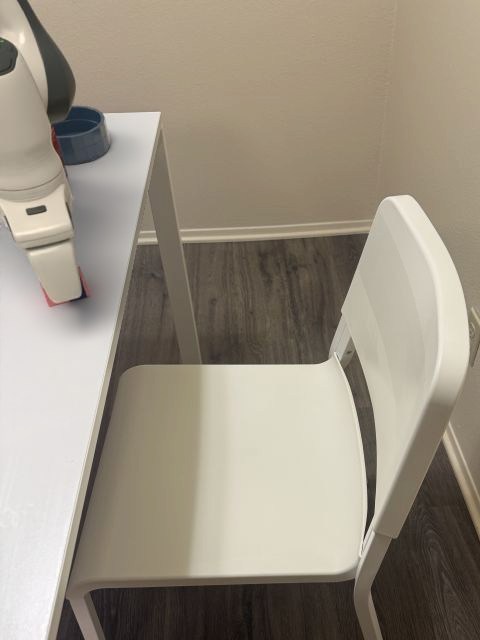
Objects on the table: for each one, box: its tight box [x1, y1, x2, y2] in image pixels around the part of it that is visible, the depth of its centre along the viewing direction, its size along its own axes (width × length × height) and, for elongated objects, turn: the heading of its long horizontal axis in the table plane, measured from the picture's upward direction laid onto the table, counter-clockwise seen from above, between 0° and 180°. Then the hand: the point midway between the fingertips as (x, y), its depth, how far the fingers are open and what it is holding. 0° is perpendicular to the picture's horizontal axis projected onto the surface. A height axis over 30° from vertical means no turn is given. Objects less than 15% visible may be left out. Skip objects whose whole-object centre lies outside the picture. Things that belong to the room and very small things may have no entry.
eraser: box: [38, 265, 90, 307], centre depth 83 cm, size 6×3×3 cm, turn 115°
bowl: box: [53, 105, 111, 165], centre depth 109 cm, size 12×12×5 cm
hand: (64, 286), depth 83 cm, fingers closed on eraser, 3 cm apart
